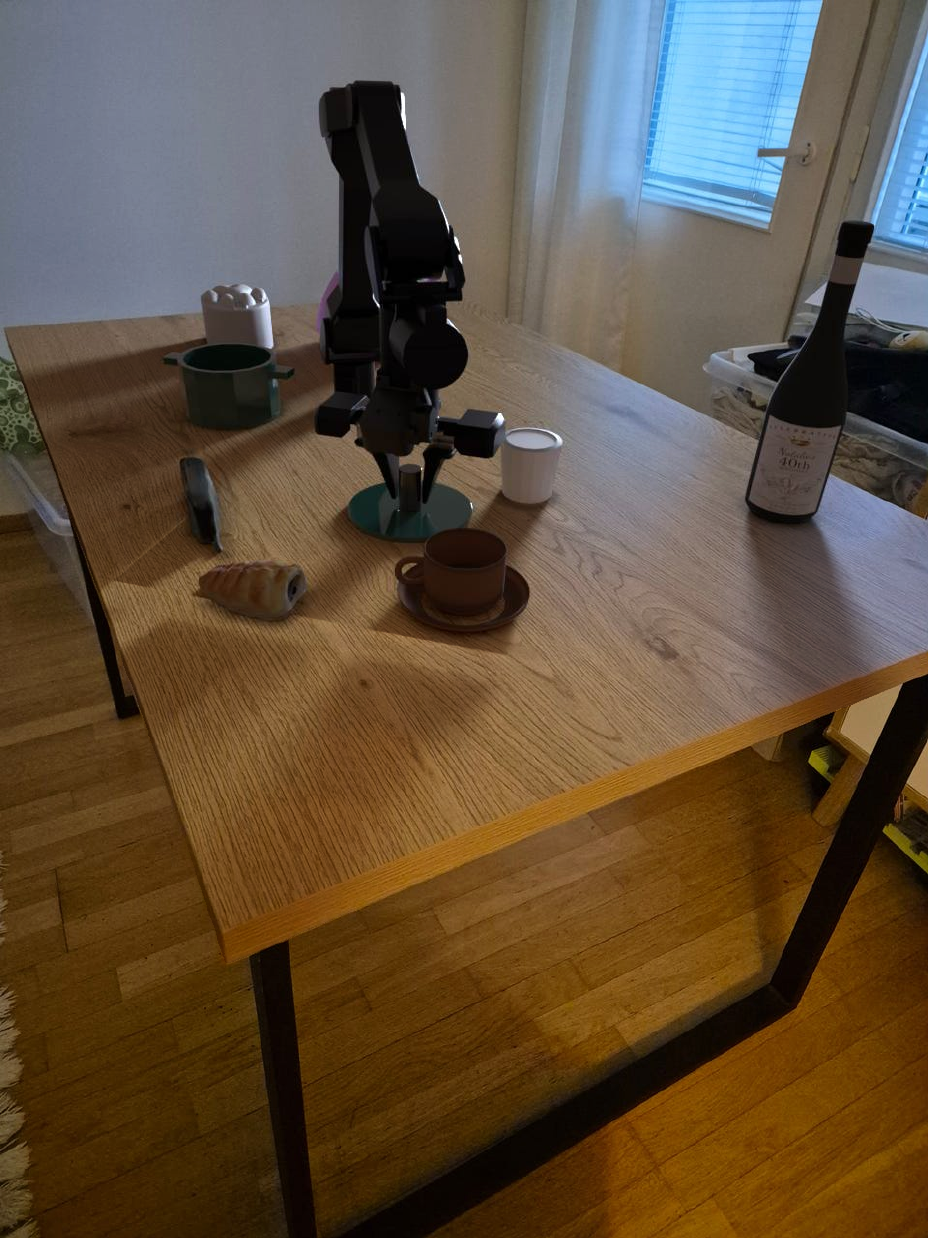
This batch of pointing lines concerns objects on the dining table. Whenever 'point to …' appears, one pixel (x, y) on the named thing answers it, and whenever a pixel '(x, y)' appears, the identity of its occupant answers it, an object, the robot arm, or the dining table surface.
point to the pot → (230, 384)
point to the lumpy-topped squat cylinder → (237, 315)
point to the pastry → (255, 587)
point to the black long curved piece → (201, 501)
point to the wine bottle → (809, 400)
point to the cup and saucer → (462, 579)
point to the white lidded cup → (529, 464)
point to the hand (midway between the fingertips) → (410, 499)
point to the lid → (408, 509)
